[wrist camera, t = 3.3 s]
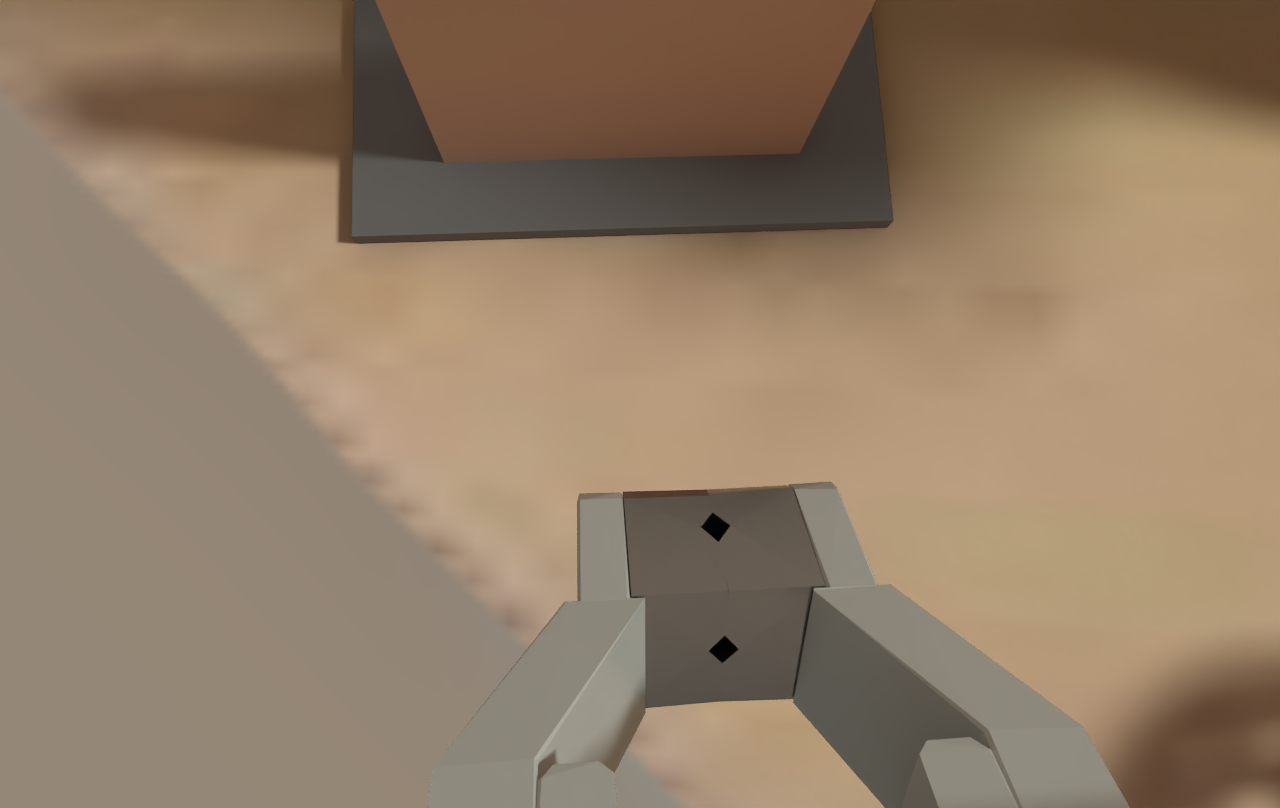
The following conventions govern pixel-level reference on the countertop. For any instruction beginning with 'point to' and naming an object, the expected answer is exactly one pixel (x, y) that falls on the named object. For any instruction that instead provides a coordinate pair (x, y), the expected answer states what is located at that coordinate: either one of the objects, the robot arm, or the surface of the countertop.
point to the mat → (606, 171)
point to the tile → (621, 74)
